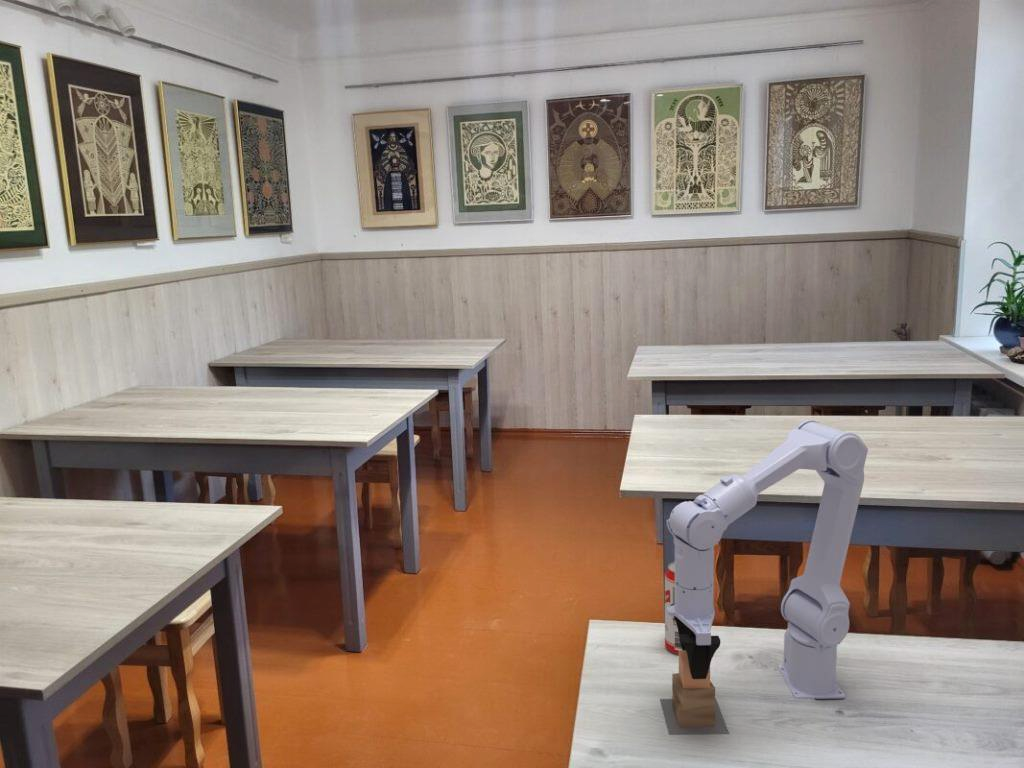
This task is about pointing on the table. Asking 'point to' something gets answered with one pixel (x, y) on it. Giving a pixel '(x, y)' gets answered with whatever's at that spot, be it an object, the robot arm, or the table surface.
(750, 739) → the table surface
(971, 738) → the table surface
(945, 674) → the table surface
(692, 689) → the slab top
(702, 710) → the slab bottom
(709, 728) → the mat
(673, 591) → the beer can
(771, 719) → the table surface
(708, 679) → the cube
